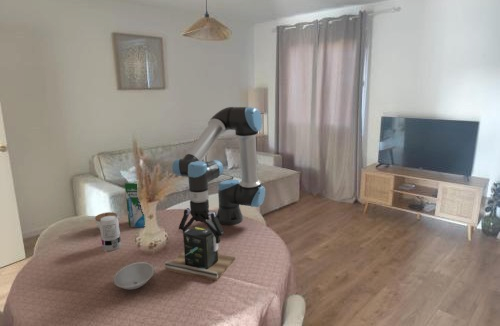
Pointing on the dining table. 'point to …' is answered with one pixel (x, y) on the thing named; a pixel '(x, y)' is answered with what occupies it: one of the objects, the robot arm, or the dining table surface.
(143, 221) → the milk carton
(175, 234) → the dining table surface
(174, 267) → the shelf board
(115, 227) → the supplement can
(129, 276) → the dish
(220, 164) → the robot arm
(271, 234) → the dining table surface
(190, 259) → the tampon box
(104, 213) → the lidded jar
